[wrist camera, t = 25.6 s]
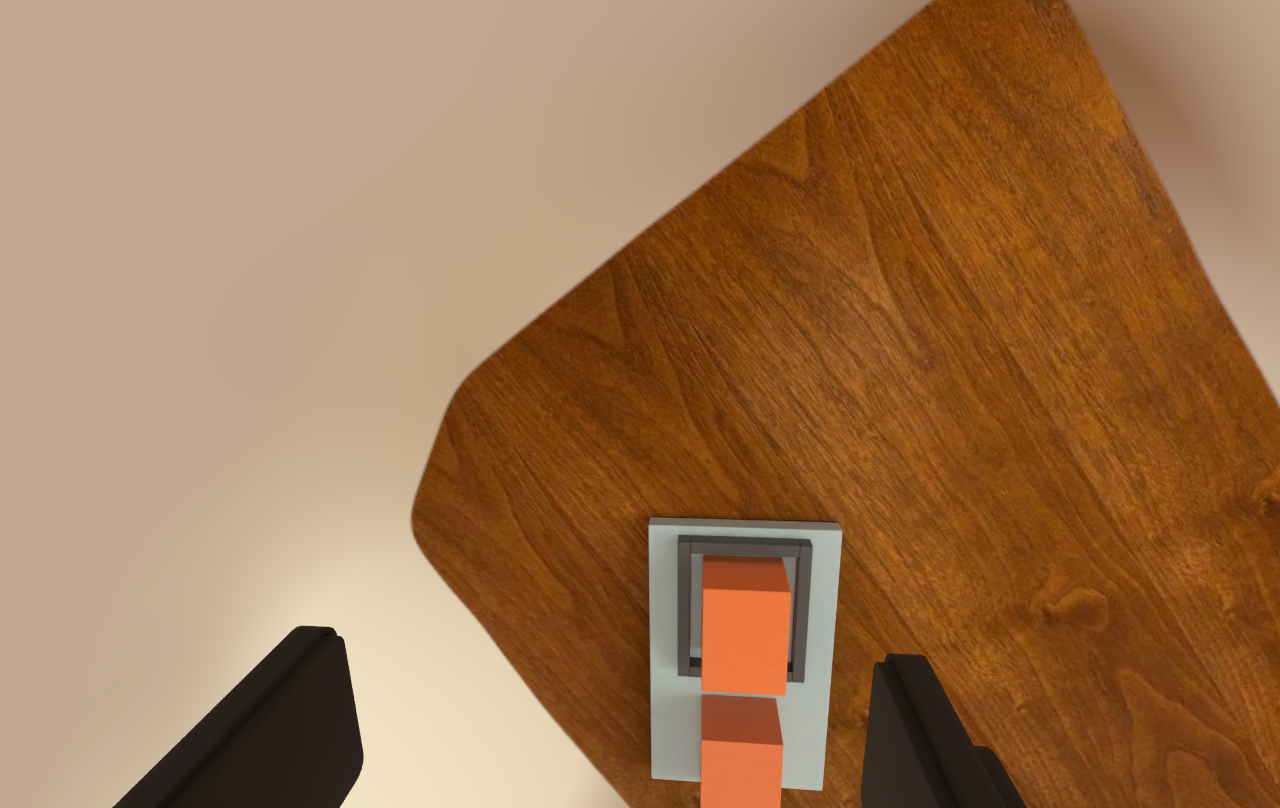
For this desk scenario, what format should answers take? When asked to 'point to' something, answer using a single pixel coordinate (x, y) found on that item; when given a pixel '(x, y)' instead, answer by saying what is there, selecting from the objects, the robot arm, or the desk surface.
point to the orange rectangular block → (745, 625)
